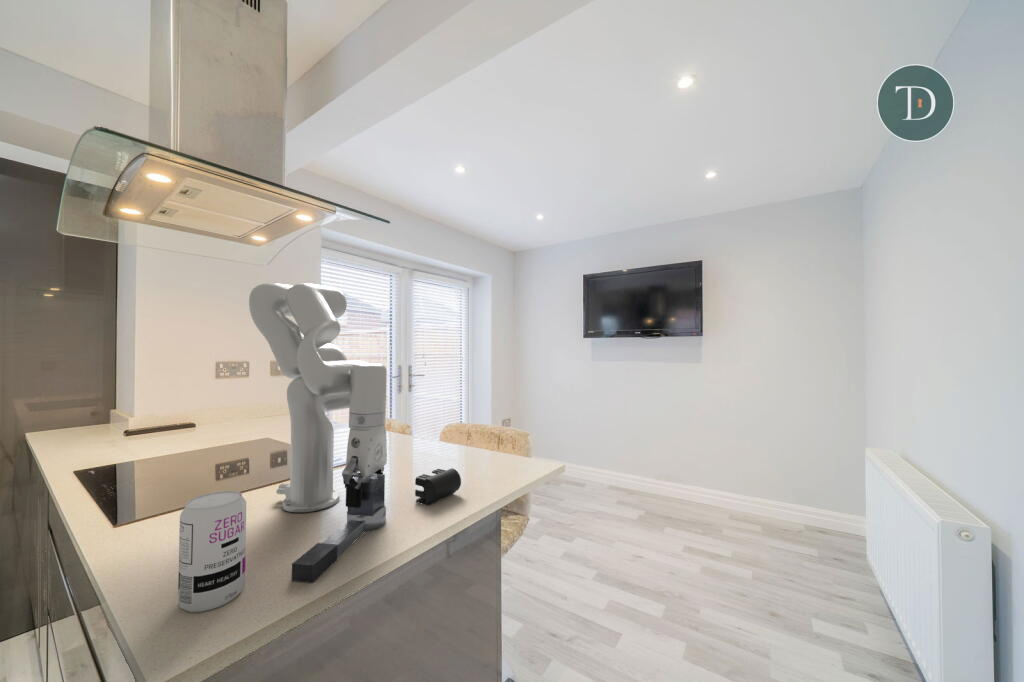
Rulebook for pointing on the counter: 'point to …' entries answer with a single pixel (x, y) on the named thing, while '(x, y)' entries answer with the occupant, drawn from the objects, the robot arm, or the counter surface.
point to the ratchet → (334, 546)
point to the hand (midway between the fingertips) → (365, 497)
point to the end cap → (437, 485)
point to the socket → (370, 495)
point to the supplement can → (211, 550)
